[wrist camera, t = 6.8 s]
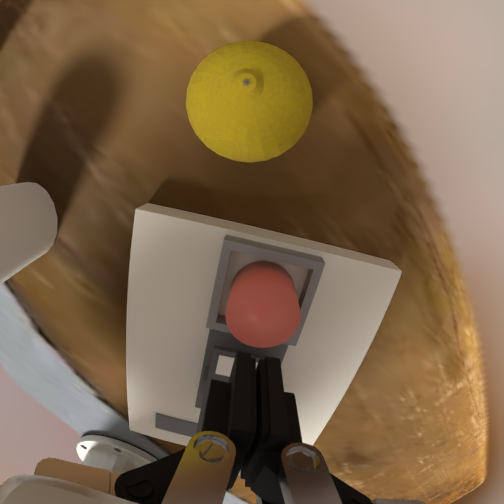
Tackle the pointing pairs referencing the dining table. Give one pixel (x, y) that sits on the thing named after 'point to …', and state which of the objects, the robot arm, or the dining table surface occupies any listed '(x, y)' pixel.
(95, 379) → the dining table surface
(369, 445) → the dining table surface
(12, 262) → the white cup
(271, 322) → the push button
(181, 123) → the dining table surface
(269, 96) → the lemon
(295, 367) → the switch panel
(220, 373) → the rocker switch
